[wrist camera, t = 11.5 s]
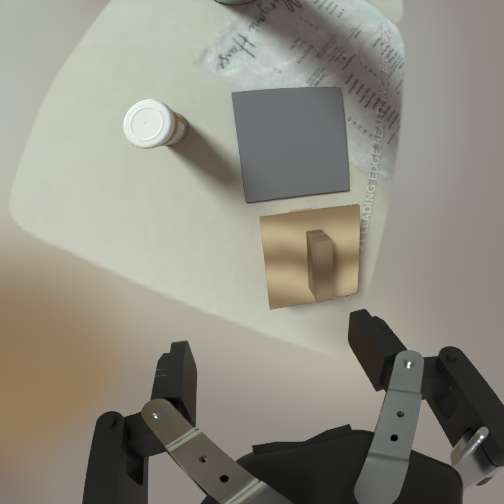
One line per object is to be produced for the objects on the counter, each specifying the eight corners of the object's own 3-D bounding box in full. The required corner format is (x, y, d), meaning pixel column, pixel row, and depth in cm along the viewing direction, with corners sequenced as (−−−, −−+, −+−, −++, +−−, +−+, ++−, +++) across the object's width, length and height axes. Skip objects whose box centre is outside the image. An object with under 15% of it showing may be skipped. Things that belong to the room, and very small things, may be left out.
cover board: (259, 216, 35) (265, 227, 31) (357, 204, 36) (374, 213, 32) (269, 307, 40) (275, 326, 36) (355, 290, 41) (369, 306, 37)
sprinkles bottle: (177, 106, 33) (157, 88, 21) (193, 134, 35) (181, 131, 23) (147, 124, 34) (113, 117, 21) (163, 152, 35) (136, 158, 23)
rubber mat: (231, 93, 34) (231, 92, 33) (339, 88, 34) (340, 87, 34) (245, 201, 39) (246, 202, 39) (347, 189, 40) (349, 190, 40)
